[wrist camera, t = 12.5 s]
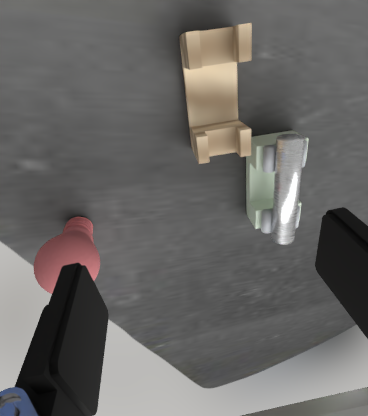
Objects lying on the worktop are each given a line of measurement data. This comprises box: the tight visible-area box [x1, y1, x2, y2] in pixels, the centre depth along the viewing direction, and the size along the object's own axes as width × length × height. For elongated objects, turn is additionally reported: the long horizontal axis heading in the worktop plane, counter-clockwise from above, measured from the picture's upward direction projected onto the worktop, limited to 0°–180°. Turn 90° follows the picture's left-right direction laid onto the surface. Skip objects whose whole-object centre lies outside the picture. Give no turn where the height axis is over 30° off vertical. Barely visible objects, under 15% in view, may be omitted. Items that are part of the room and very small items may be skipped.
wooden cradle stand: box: [179, 23, 251, 164], centre depth 30 cm, size 12×6×6 cm, turn 7°
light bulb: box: [34, 217, 100, 294], centre depth 34 cm, size 7×7×12 cm
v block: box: [246, 130, 309, 233], centre depth 36 cm, size 12×6×5 cm, turn 7°
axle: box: [271, 134, 305, 244], centre depth 34 cm, size 14×3×3 cm, turn 7°
